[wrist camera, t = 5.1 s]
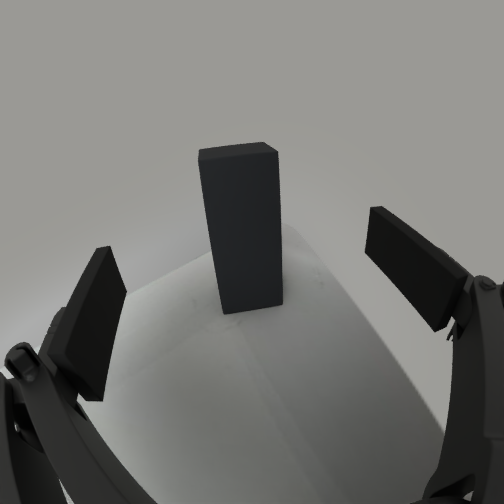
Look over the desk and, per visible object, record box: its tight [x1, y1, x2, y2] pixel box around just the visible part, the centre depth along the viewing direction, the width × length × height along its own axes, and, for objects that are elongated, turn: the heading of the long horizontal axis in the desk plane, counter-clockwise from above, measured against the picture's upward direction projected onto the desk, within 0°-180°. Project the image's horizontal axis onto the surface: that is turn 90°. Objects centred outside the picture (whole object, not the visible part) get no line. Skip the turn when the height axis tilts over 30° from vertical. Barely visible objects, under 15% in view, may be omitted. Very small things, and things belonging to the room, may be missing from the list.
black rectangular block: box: [198, 142, 283, 314], centre depth 17 cm, size 4×4×10 cm
